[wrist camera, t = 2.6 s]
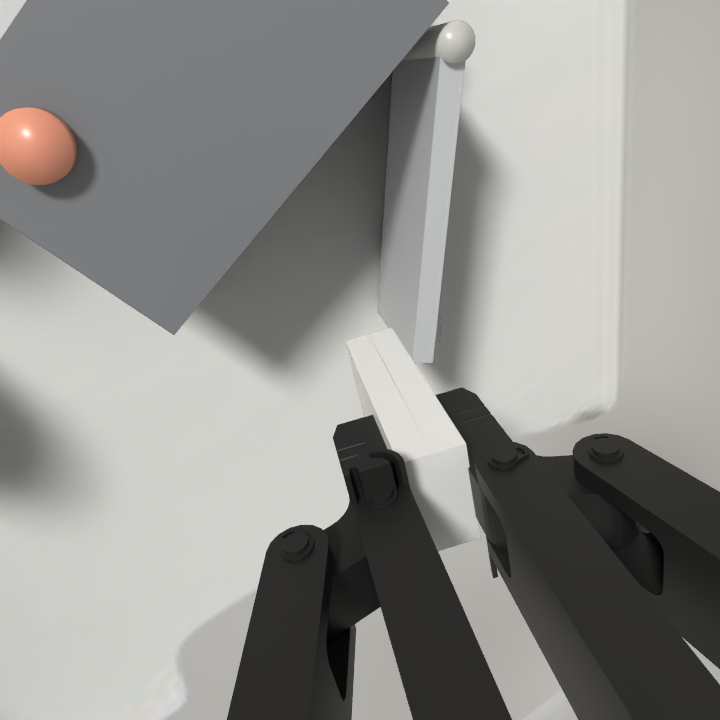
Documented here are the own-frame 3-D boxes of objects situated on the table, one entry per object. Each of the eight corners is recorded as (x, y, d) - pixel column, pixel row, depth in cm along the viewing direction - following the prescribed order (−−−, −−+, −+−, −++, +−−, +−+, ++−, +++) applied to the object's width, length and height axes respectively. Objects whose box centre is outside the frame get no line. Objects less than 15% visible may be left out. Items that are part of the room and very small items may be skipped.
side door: (404, 310, 34) (447, 364, 28) (373, 311, 34) (409, 366, 27) (426, 36, 28) (487, 22, 22) (390, 33, 28) (441, 18, 22)
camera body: (187, 278, 31) (175, 344, 23) (-2, 141, 27) (-95, 166, 19) (417, -4, 28) (492, -37, 20) (243, -211, 24) (253, -355, 16)
